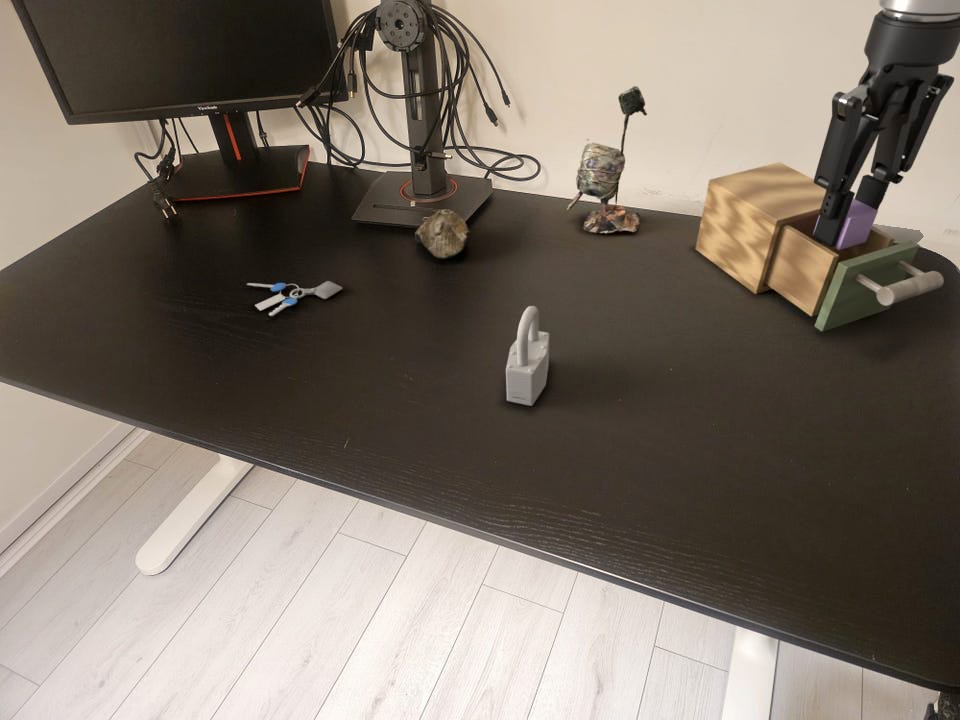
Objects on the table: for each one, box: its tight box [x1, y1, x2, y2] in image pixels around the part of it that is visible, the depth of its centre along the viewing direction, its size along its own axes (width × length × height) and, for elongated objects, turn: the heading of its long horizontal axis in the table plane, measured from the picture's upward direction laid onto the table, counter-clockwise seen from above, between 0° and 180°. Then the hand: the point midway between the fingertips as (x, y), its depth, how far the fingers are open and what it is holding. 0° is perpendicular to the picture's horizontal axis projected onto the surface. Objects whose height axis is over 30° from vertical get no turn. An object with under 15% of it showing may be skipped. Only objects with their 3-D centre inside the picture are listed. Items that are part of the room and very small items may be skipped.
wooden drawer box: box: [694, 161, 826, 295], centre depth 82 cm, size 13×12×11 cm
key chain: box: [246, 280, 343, 317], centre depth 83 cm, size 14×8×1 cm, turn 88°
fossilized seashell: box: [414, 209, 471, 260], centre depth 91 cm, size 8×7×10 cm
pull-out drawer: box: [764, 214, 945, 333], centre depth 72 cm, size 16×10×9 cm, turn 22°
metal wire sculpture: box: [567, 85, 648, 234], centre depth 89 cm, size 8×11×20 cm
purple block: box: [813, 197, 879, 250], centre depth 71 cm, size 4×4×4 cm
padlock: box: [505, 305, 550, 406], centre depth 66 cm, size 7×4×10 cm, turn 161°
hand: (840, 236), depth 72 cm, fingers closed on purple block, 4 cm apart
